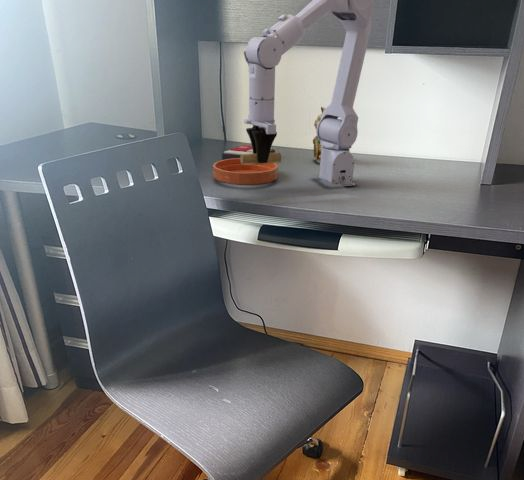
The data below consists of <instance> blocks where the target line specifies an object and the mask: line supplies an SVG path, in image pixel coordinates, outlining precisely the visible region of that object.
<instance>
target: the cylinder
mask: <svg viewBox="0 0 524 480" xmlns="http://www.w3.org/2000/svg"><path fill="white" fill-rule="evenodd" d="M281 161H282V154H281V152H279V151H275V153H269V157H268V161H267V163H276V164H279V163H281ZM240 162H241V164H243V165H248V164H265V163H258V159H257V154H241V155H240Z"/></svg>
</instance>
